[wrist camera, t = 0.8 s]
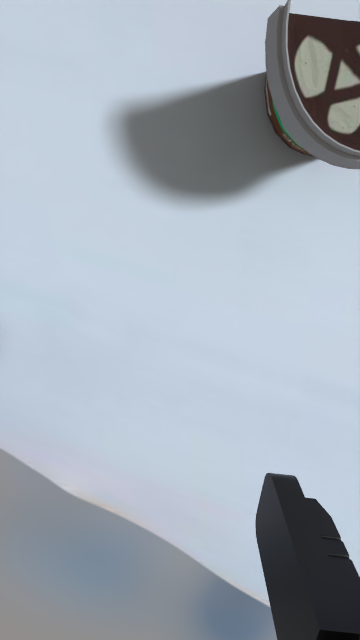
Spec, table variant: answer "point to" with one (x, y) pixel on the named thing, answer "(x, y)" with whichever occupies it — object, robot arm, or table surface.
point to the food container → (314, 85)
